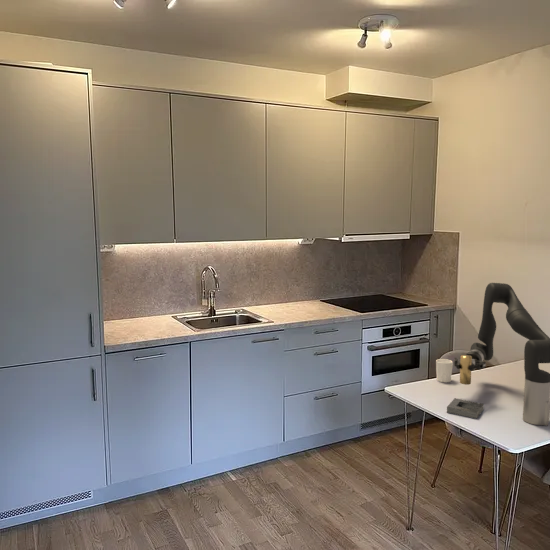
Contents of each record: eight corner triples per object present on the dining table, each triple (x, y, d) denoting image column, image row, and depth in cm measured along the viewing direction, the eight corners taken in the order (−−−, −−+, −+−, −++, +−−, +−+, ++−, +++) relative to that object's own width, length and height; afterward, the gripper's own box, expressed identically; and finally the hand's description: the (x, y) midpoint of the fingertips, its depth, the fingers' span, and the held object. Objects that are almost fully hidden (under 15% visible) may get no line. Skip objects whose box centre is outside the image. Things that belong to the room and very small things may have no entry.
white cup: (432, 379, 253) (432, 359, 252) (444, 377, 256) (445, 358, 255) (442, 383, 246) (443, 364, 245) (455, 381, 249) (456, 362, 247)
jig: (483, 409, 213) (483, 403, 213) (476, 418, 203) (476, 413, 203) (454, 403, 220) (454, 398, 219) (446, 412, 210) (446, 406, 210)
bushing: (471, 382, 221) (472, 355, 220) (469, 385, 217) (470, 358, 216) (461, 380, 224) (462, 354, 222) (458, 383, 220) (459, 356, 219)
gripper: (457, 348, 235) (447, 356, 221) (490, 353, 227) (481, 361, 213) (457, 364, 236) (447, 373, 222) (489, 369, 228) (481, 378, 214)
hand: (464, 367), depth 217 cm, fingers closed on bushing, 4 cm apart
